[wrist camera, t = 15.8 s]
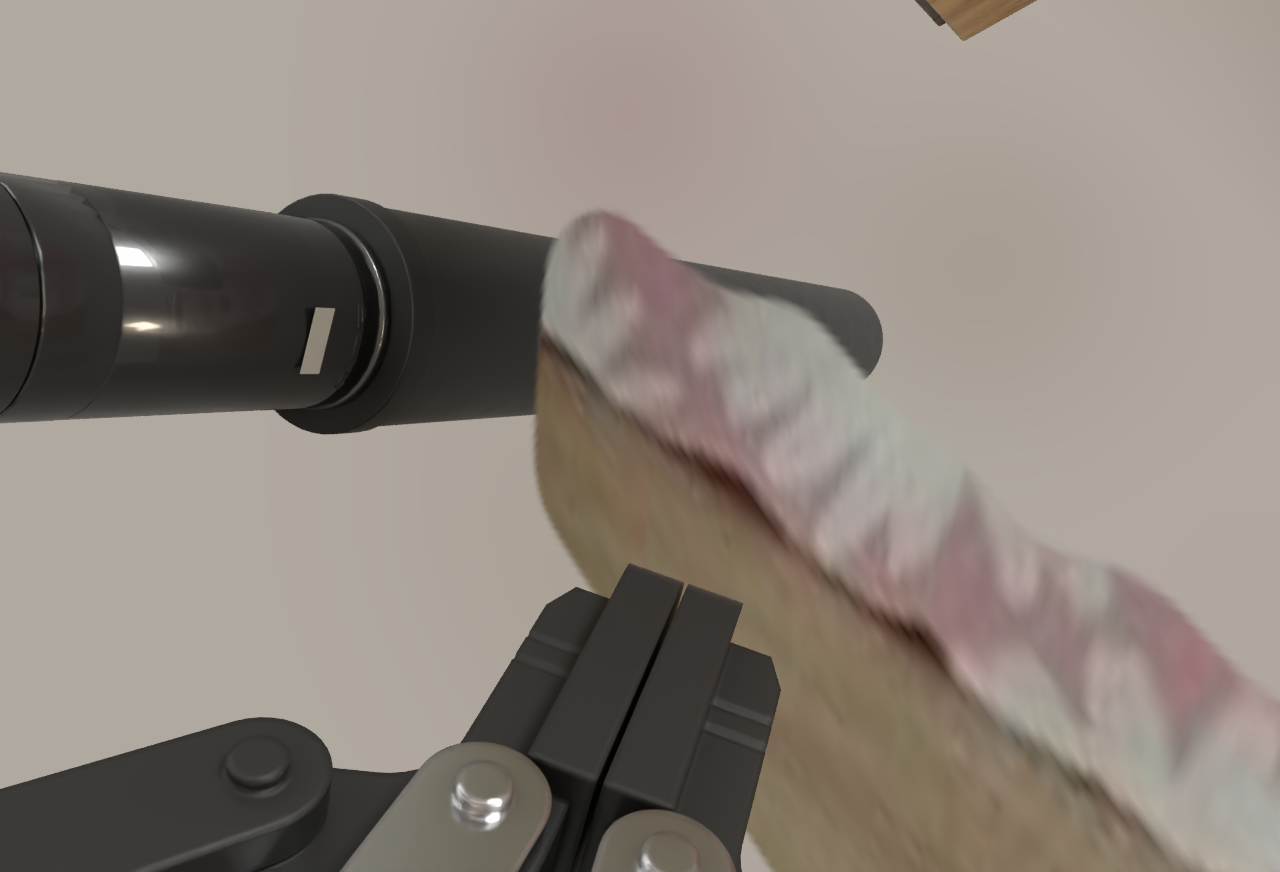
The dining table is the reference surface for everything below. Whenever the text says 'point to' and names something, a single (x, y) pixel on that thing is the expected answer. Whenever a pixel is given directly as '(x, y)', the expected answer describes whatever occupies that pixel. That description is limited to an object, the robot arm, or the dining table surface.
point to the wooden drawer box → (931, 12)
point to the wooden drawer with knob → (975, 13)
